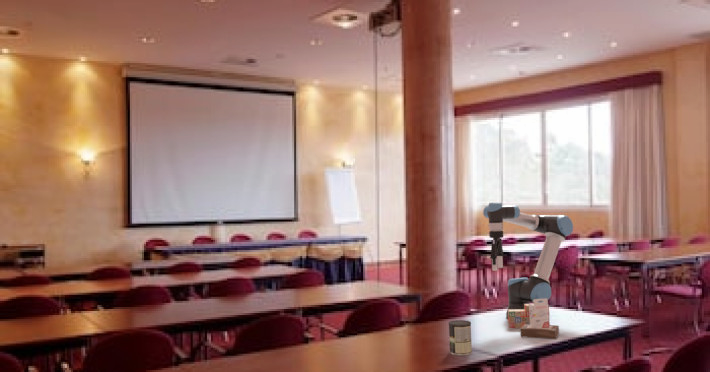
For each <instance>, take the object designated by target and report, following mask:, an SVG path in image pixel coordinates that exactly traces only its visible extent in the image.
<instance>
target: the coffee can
mask: <svg viewBox="0 0 710 372" xmlns="http://www.w3.org/2000/svg"><path fill="white" fill-rule="evenodd" d="M448 334H449V337H448V338H449V354H450V355H453V356H469V355H472V353H473V350H472V349H473V348H472V347H473V345H472V323H471V321H469V320H464V319H463V320H461V319H459V320H456V319H455V320H450V321H448Z"/></svg>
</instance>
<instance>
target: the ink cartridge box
mask: <svg viewBox="0 0 710 372" xmlns="http://www.w3.org/2000/svg"><path fill="white" fill-rule="evenodd" d="M548 300H549V299H548ZM548 300H547V298H545V299H534V300H533V302H532V303H529V315H530V327H532V328H544V327H549V323H550V310H549V311H548V305H549V302H548ZM538 301H543V302H538Z"/></svg>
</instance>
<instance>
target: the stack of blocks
mask: <svg viewBox="0 0 710 372" xmlns="http://www.w3.org/2000/svg"><path fill="white" fill-rule="evenodd" d="M529 304H530V303H529ZM529 304H524V309H508V308H507V309H508V318H507V322H508V324H507V325H508V328H509V329H521V328H522V327H523V326H524V325H525V324H530V315H529ZM548 311H549V312H550V305H549V304H548ZM549 325H551V324H550V322H549Z"/></svg>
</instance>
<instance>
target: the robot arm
mask: <svg viewBox="0 0 710 372" xmlns="http://www.w3.org/2000/svg"><path fill="white" fill-rule="evenodd" d="M482 214H483V216H484V218H486V219H488V224H487V226H488V229H489V232H488V236H489V238H490V239H492V240H491V250H490V257H489V258H490V260H491V270H492V271H493V272H494V271H496V272H497V271H499V270H498V269H503V268H504V265H503V264H504V262H503V261H504V260H503V257H504V256H505V254H504V250H503V244H502V238H504V231H503V230H504V222H505V223H509V224H513V225H517V226H521V227H525V228H527V229H528V230H530V231H534V232H535V233H536V232H537V233H540V234H543V235H545V240H544V244H543V246H542V248H541V252H540V255H539V257H538V261H537V263H536V267H535V269H534V273H533V274H531V275H529V278H528V277H516V278H510V279H508V281H507V291H508V292H507V293H508V294H507V295H508V296H507V297H508V306H507V310H506V313H505V314H506V315H505V317H506V319H508V309H524V304H530V302H531V303H533V300H534V299H545V298H547V300H550V299H551V296H552V287H551V285H550V283H551V282H550V280H549V278H550V276H551V273H552V270H553V267H554V264H555V261H556V258H557V255H558V253H559V249H560V247H561V244H562V242H565V241H566V238H567V236H570V235H572V233H573V231H574V223H573V221H572V219H571V218H570V216H567V215H563V214H556V215H555V214H554V215H553V214H550V215H549V214H543V215H540V214H528V213H525V212H524V213H523V212H521V210H520V207H519V206H518V205H513V204H509V205H508V204H507V205H503V203H502V202H500V201H499V202H489V203H488V205H487V206H485V207H484V208H483V213H482ZM538 302H543V301H538Z"/></svg>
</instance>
